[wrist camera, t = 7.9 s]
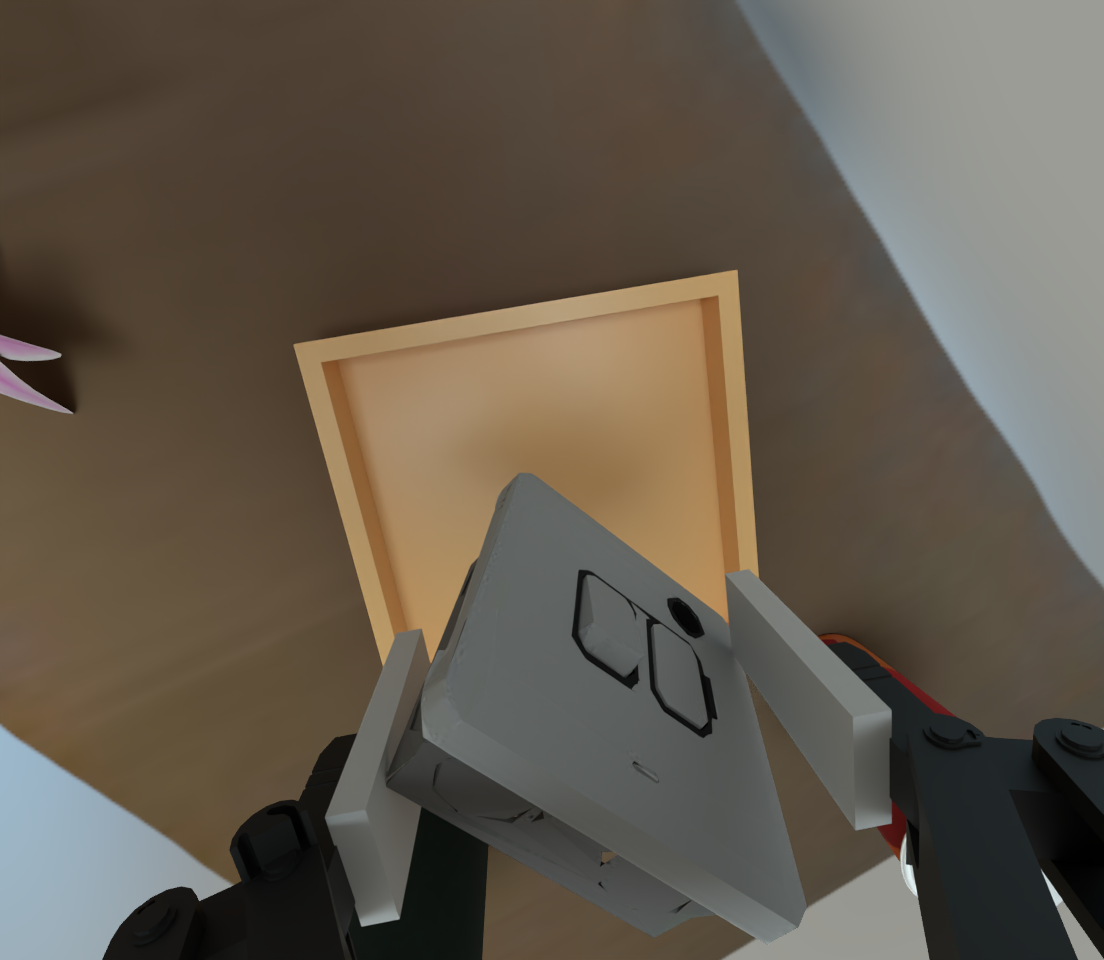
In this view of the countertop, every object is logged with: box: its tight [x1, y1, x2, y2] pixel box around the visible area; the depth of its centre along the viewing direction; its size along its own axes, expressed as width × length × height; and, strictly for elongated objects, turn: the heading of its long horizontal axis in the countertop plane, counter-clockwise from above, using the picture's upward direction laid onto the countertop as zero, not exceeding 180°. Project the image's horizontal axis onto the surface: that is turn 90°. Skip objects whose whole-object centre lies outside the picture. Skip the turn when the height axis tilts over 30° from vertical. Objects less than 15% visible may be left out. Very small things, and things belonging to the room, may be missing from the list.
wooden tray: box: [293, 270, 759, 667], centre depth 30 cm, size 21×21×4 cm
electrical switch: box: [386, 473, 807, 945], centre depth 15 cm, size 9×5×9 cm, turn 51°
